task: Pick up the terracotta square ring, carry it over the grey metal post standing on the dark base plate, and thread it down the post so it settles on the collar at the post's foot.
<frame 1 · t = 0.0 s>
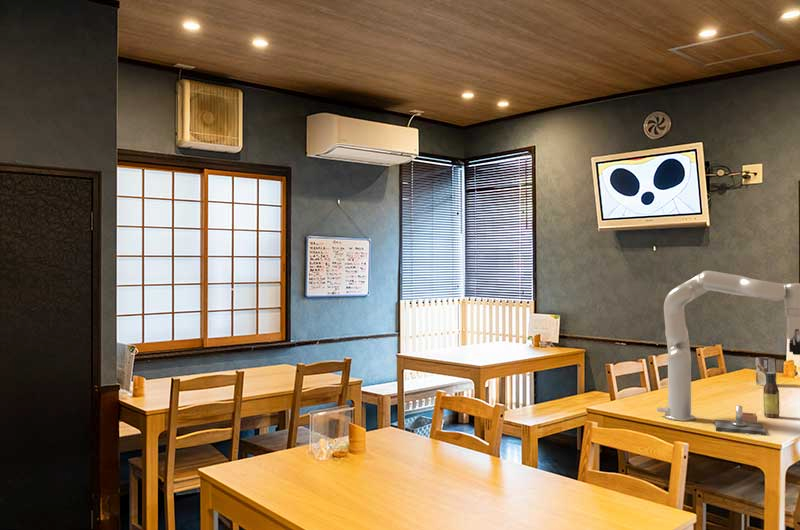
hand: (795, 353, 275), 31 cm above the table, tool pointing down, fingers open, 9 cm apart
sauce bottle: (771, 417, 296), on the table
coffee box: (766, 385, 380), on the table
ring: (747, 422, 285), on the table
metal post: (739, 415, 273), on the base plate, point 6 cm above the table
base plate: (739, 428, 273), on the table
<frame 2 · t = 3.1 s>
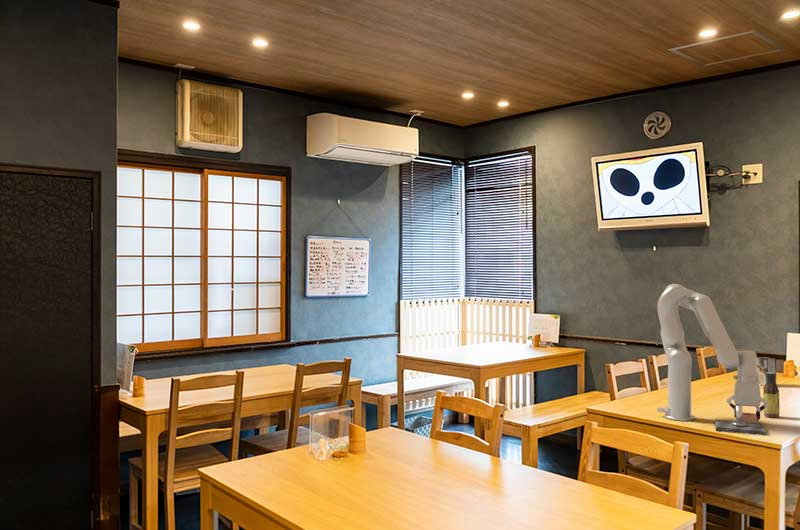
hand: (747, 419, 285), 1 cm above the table, tool pointing down, fingers closed on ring, 7 cm apart
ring: (747, 422, 285), on the table, touching gripper
everything else where it was.
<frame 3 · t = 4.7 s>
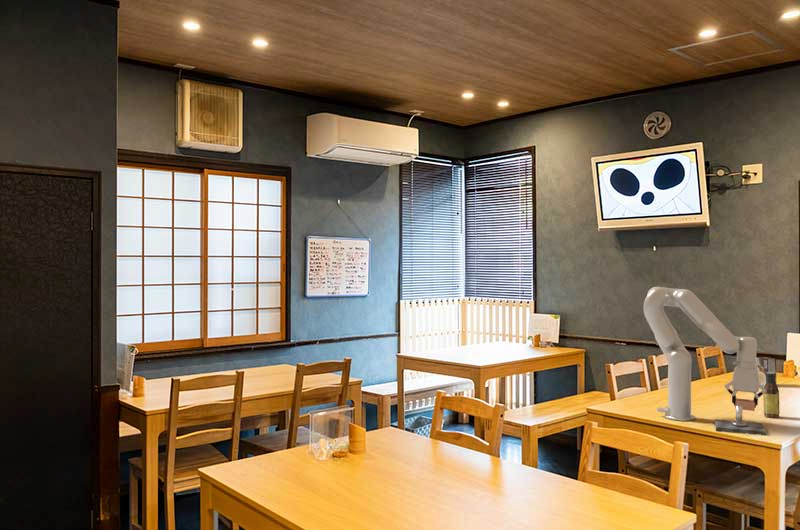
hand: (744, 405, 285), 7 cm above the table, tool pointing down, fingers closed on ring, 7 cm apart
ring: (744, 408, 285), point 6 cm above the table, touching gripper
everything else where it was.
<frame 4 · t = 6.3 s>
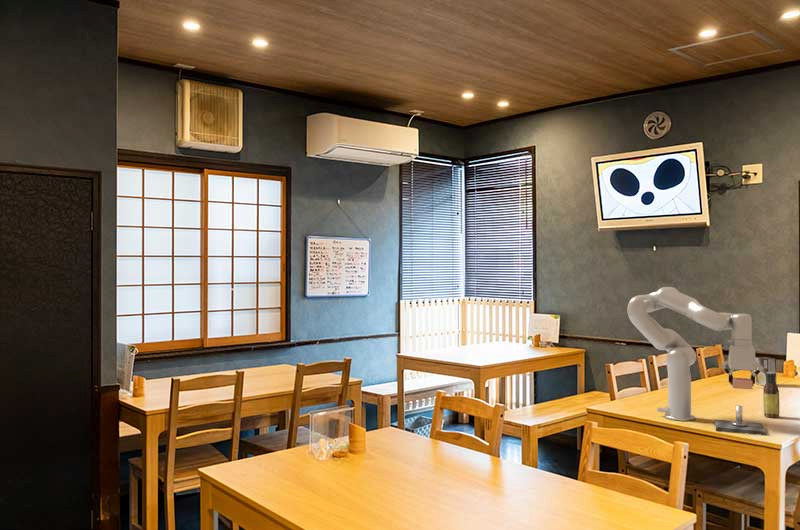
hand: (741, 384, 277), 18 cm above the table, tool pointing down, fingers closed on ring, 7 cm apart
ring: (741, 387, 277), point 17 cm above the table, touching gripper
everything else where it was.
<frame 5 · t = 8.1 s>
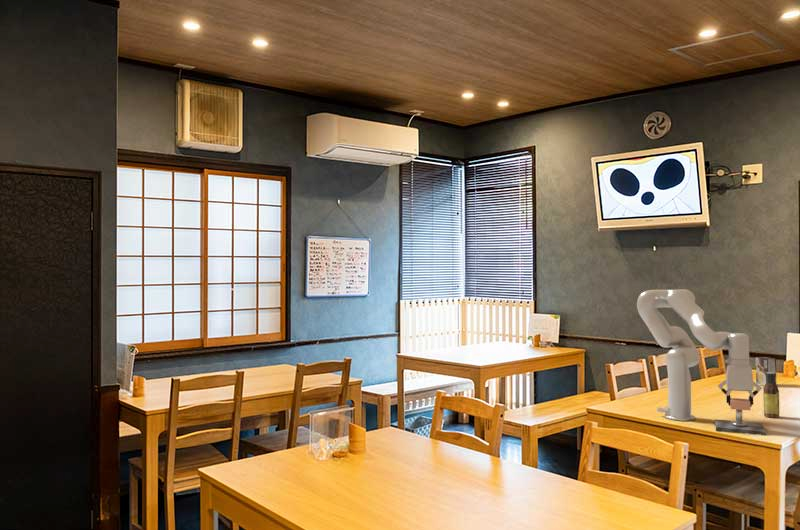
hand: (739, 405, 273), 10 cm above the table, tool pointing down, fingers closed on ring, 7 cm apart
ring: (739, 408, 273), point 9 cm above the table, touching gripper
everything else where it was.
when the fingers open (6 cm above the table, at t = 9.4 s): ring drops 3 cm, resting on metal post.
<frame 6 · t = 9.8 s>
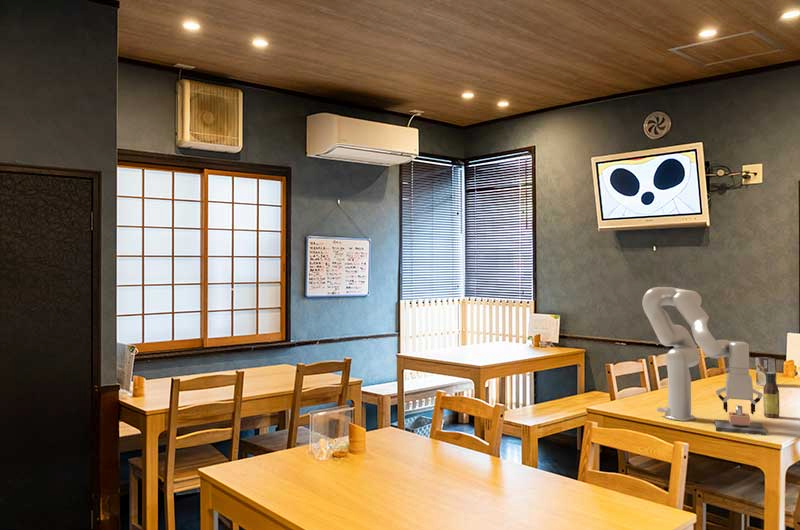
hand: (739, 412, 273), 7 cm above the table, tool pointing down, fingers open, 9 cm apart
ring: (739, 422, 273), point 2 cm above the table, touching metal post
everything else where it was.
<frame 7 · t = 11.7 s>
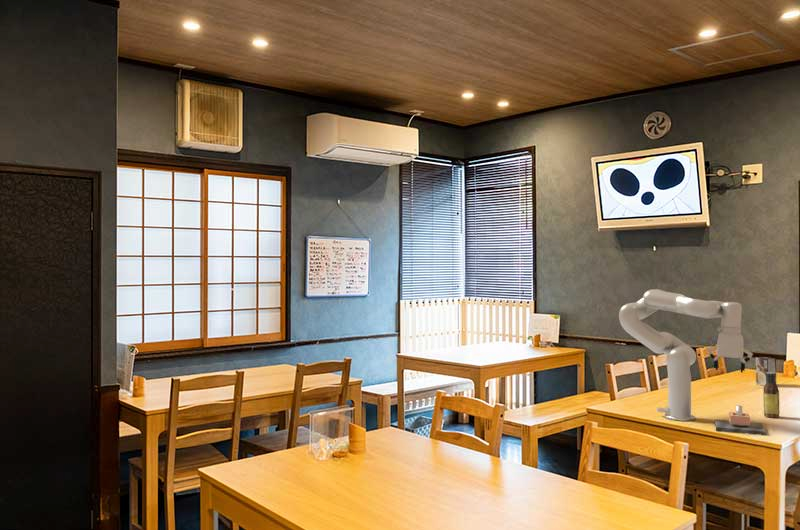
hand: (729, 370, 280), 23 cm above the table, tool pointing down, fingers open, 9 cm apart
nothing on the table moved.
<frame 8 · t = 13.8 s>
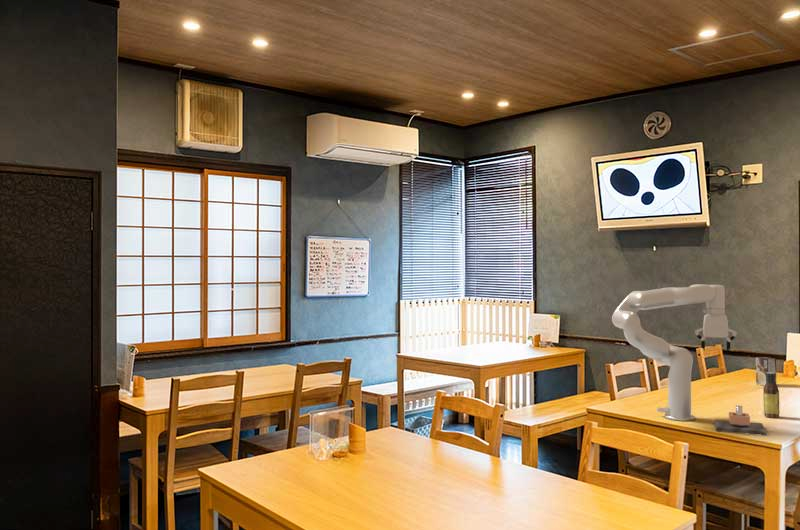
hand: (715, 350, 295), 30 cm above the table, tool pointing down, fingers open, 9 cm apart
nothing on the table moved.
at the end: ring 0.0 cm off-centre on the metal post, point 2.5 cm above the metal post's base; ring tilted 0°; the gripper is holding nothing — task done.
